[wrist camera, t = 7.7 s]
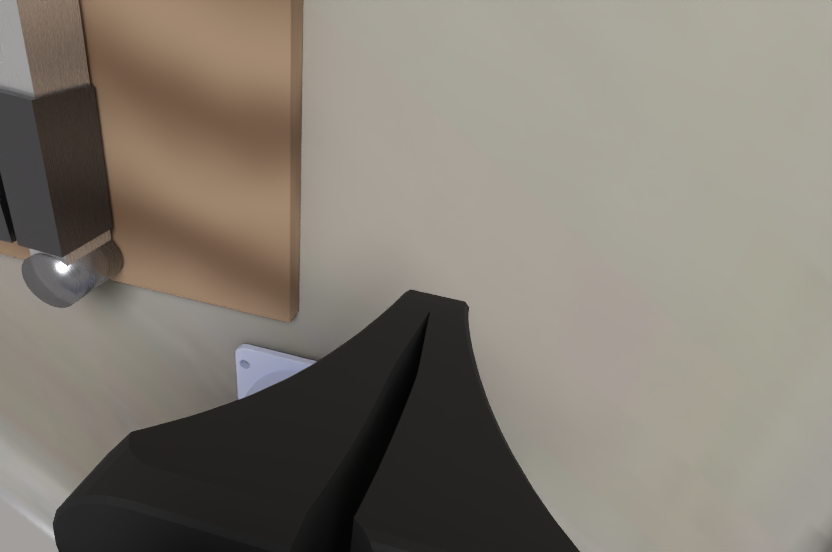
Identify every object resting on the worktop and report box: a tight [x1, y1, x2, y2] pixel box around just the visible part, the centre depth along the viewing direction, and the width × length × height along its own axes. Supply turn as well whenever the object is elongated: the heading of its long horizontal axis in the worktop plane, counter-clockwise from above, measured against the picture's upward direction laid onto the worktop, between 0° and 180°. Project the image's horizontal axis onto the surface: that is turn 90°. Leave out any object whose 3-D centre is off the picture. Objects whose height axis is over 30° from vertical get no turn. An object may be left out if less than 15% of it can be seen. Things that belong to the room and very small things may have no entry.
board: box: [0, 0, 303, 323], centre depth 20 cm, size 19×18×1 cm
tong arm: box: [0, 0, 122, 308], centre depth 19 cm, size 18×2×3 cm, turn 170°
